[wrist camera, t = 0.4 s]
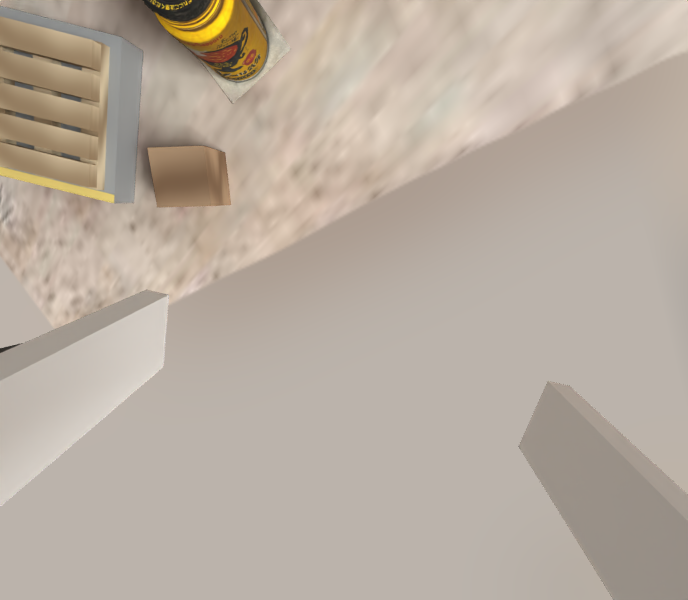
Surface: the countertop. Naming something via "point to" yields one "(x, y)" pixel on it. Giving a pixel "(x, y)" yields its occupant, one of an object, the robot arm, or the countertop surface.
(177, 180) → the brown cube
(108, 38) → the dock
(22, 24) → the pallet
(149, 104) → the countertop surface
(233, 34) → the condiment
